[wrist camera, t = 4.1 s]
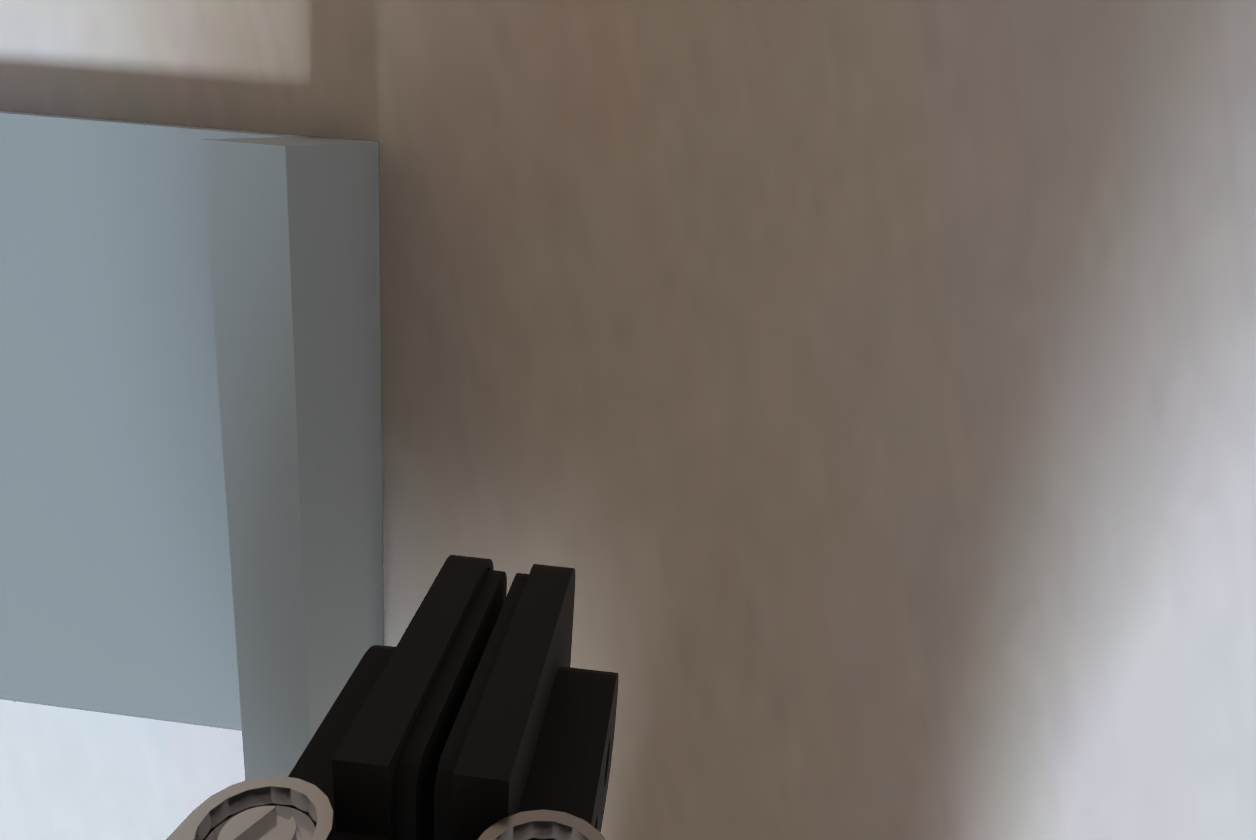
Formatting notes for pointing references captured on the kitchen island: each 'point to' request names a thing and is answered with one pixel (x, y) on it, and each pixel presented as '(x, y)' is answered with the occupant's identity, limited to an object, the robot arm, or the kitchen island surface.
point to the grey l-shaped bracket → (189, 424)
